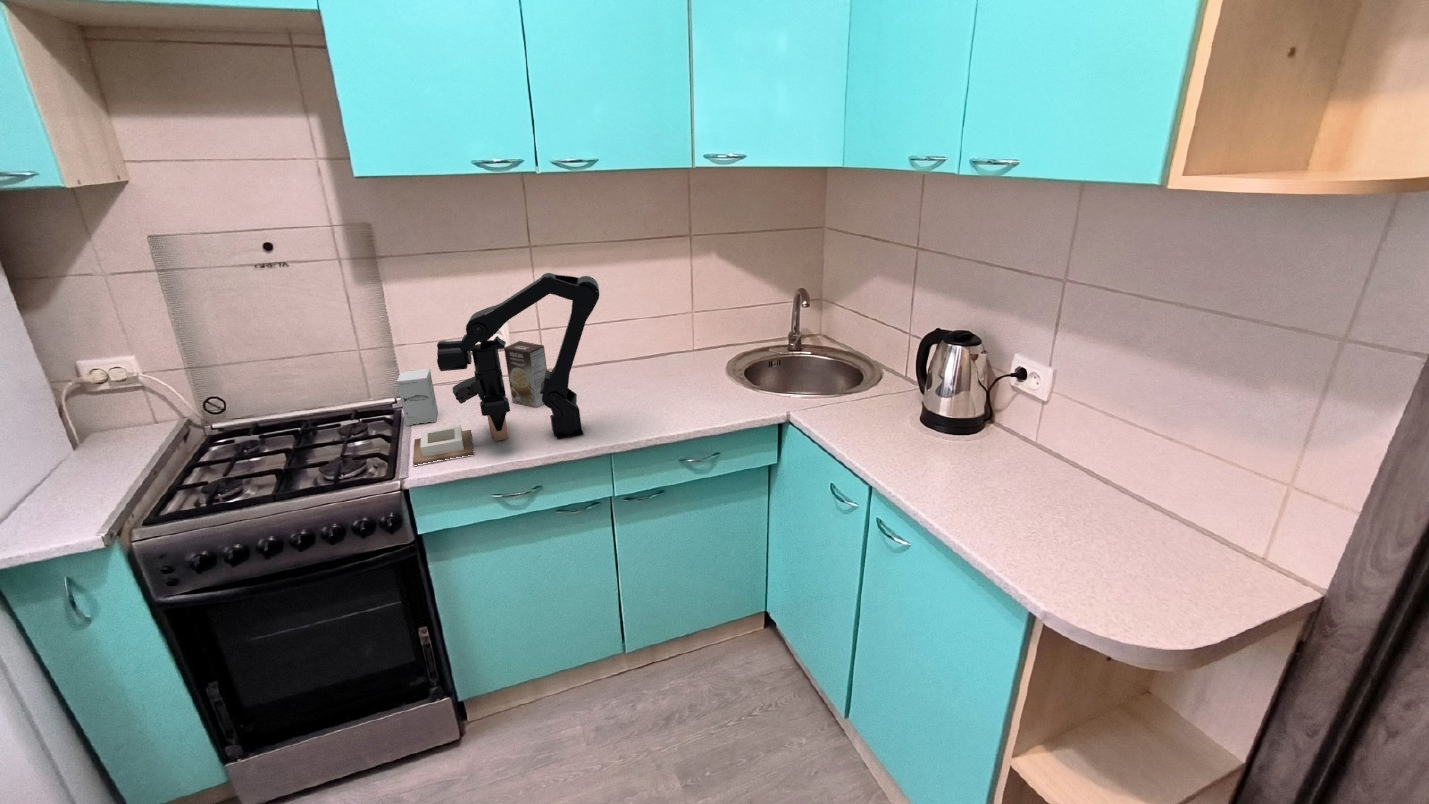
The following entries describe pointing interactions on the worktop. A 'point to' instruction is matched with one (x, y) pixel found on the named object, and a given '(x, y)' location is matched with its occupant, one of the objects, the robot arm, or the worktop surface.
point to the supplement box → (417, 396)
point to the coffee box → (526, 372)
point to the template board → (442, 445)
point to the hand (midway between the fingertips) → (498, 427)
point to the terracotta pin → (497, 434)
